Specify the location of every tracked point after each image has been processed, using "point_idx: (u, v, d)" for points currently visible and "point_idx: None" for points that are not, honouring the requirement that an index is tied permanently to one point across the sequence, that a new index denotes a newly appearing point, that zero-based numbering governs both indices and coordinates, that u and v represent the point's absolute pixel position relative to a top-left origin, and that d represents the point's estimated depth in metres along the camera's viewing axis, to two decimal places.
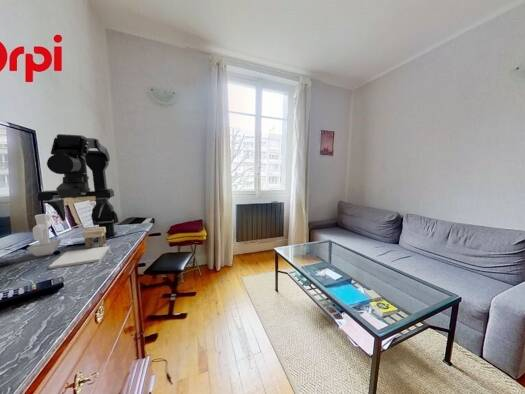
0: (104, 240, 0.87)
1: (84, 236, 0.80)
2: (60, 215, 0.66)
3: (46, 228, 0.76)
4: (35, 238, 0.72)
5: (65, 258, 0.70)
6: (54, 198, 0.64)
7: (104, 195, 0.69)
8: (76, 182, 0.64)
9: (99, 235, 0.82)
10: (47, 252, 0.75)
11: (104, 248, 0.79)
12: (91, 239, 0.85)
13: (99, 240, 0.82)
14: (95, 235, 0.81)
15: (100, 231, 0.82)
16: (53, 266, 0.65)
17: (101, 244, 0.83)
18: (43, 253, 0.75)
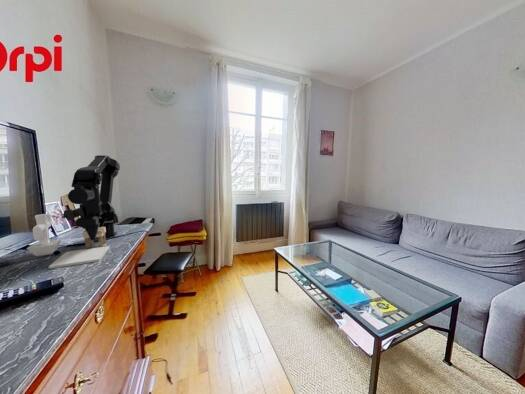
0: (104, 240, 0.87)
1: (84, 236, 0.80)
2: None
3: (46, 228, 0.76)
4: (35, 238, 0.72)
5: (65, 258, 0.70)
6: None
7: None
8: (78, 208, 0.79)
9: (99, 235, 0.82)
10: (47, 252, 0.75)
11: (104, 248, 0.79)
12: None
13: (99, 240, 0.82)
14: None
15: (100, 231, 0.82)
16: (53, 266, 0.65)
17: (101, 244, 0.83)
18: (43, 253, 0.75)
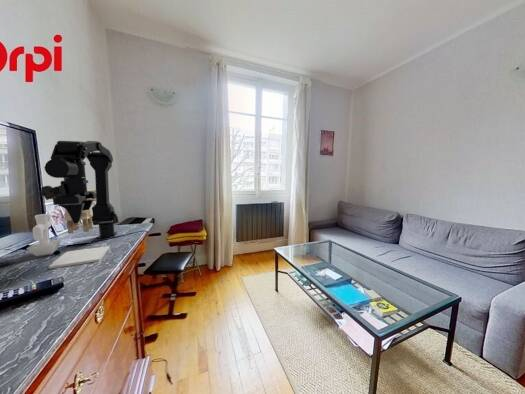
0: (90, 225, 0.75)
1: (66, 218, 0.69)
2: None
3: (46, 228, 0.76)
4: (35, 238, 0.72)
5: (65, 258, 0.70)
6: None
7: None
8: None
9: (84, 218, 0.71)
10: (47, 252, 0.75)
11: (104, 248, 0.79)
12: (75, 223, 0.73)
13: (84, 223, 0.71)
14: None
15: (85, 213, 0.71)
16: (53, 266, 0.65)
17: (86, 228, 0.71)
18: (43, 253, 0.75)
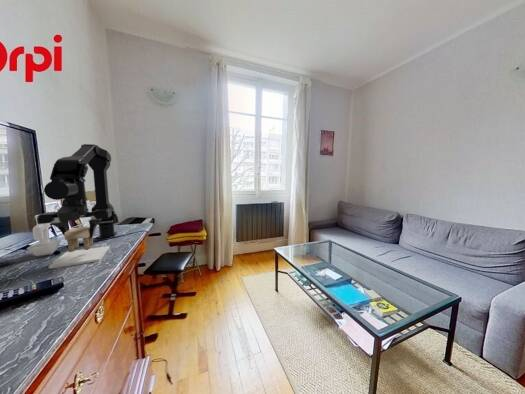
0: None
1: (87, 235, 0.71)
2: None
3: (46, 228, 0.76)
4: (35, 238, 0.72)
5: (65, 258, 0.70)
6: None
7: (102, 216, 0.72)
8: (75, 205, 0.68)
9: None
10: (47, 252, 0.75)
11: (104, 248, 0.79)
12: (73, 243, 0.70)
13: (92, 237, 0.75)
14: None
15: None
16: (53, 266, 0.65)
17: None
18: (43, 253, 0.75)
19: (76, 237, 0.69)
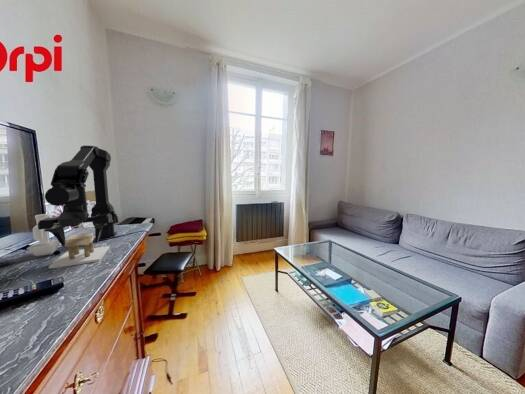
0: None
1: (88, 242, 0.71)
2: (60, 241, 0.69)
3: None
4: (35, 238, 0.72)
5: (65, 258, 0.70)
6: (55, 225, 0.68)
7: (103, 221, 0.72)
8: (76, 210, 0.68)
9: (92, 238, 0.76)
10: (47, 252, 0.75)
11: (104, 248, 0.79)
12: (73, 251, 0.70)
13: (92, 244, 0.75)
14: (91, 239, 0.74)
15: (92, 234, 0.76)
16: (53, 266, 0.65)
17: None
18: (43, 253, 0.75)
19: (76, 244, 0.70)
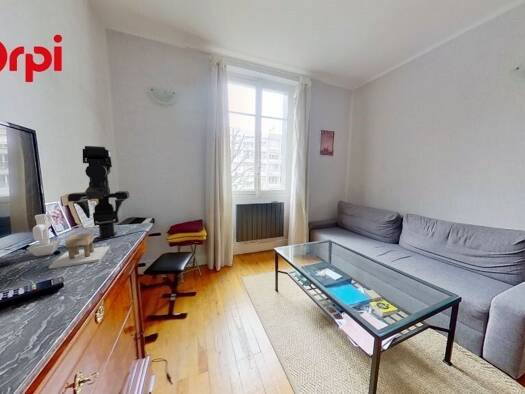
0: None
1: (88, 242, 0.71)
2: (86, 213, 0.79)
3: (46, 228, 0.76)
4: (35, 238, 0.72)
5: (65, 258, 0.70)
6: (81, 199, 0.77)
7: (122, 196, 0.82)
8: (100, 186, 0.77)
9: (92, 238, 0.76)
10: (47, 252, 0.75)
11: (104, 248, 0.79)
12: (73, 251, 0.70)
13: (92, 244, 0.75)
14: (91, 239, 0.74)
15: (92, 234, 0.76)
16: (53, 266, 0.65)
17: None
18: (43, 253, 0.75)
19: (76, 244, 0.70)
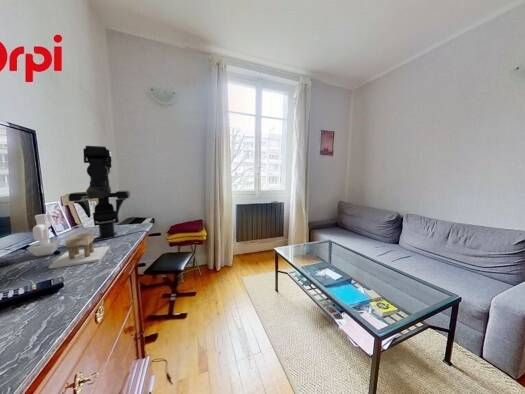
0: None
1: (88, 242, 0.71)
2: (86, 213, 0.79)
3: (46, 228, 0.76)
4: (35, 238, 0.72)
5: (65, 258, 0.70)
6: (82, 198, 0.78)
7: (123, 196, 0.82)
8: (101, 185, 0.78)
9: (92, 238, 0.76)
10: (47, 252, 0.75)
11: (104, 248, 0.79)
12: (73, 251, 0.70)
13: (92, 244, 0.75)
14: (91, 239, 0.74)
15: (92, 234, 0.76)
16: (53, 266, 0.65)
17: None
18: (43, 253, 0.75)
19: (76, 244, 0.70)
